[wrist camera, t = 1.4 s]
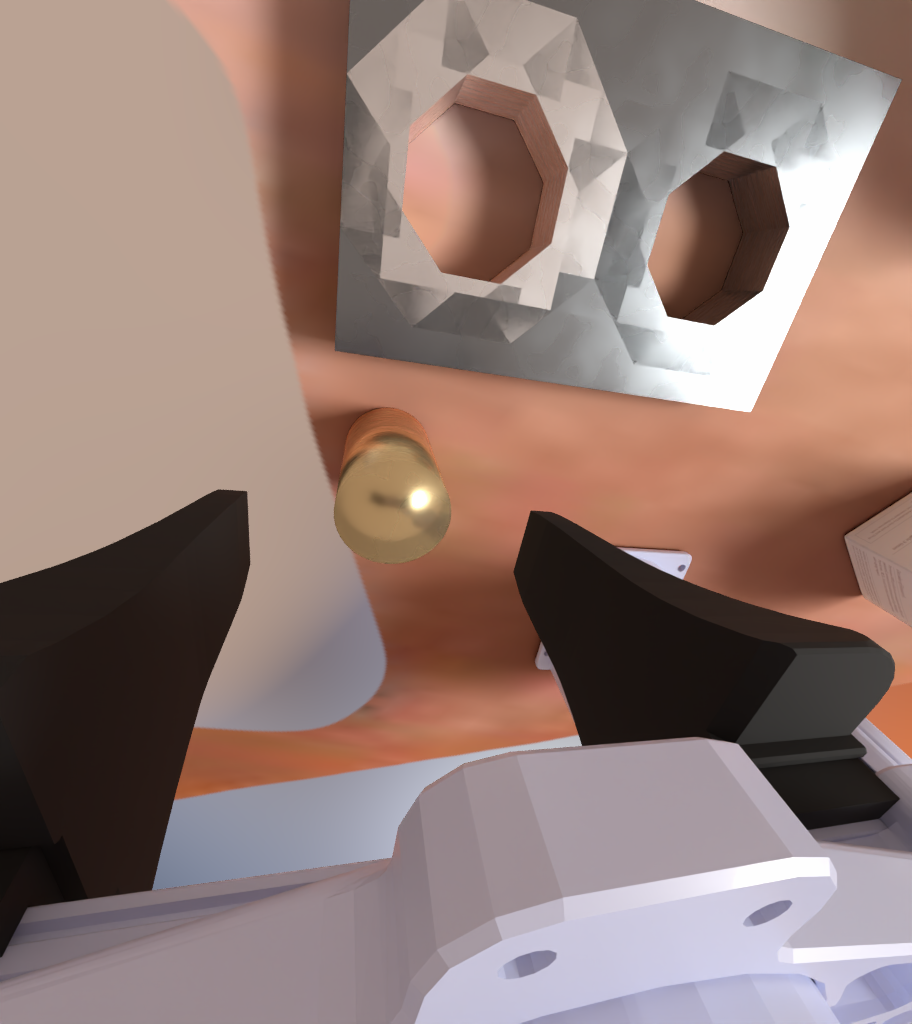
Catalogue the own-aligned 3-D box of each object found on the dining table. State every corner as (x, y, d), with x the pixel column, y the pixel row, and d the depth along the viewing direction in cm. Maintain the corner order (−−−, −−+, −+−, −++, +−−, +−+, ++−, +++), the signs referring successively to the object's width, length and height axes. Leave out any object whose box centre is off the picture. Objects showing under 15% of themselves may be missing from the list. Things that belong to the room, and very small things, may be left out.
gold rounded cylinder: (423, 489, 23) (442, 566, 17) (343, 483, 22) (331, 561, 16) (434, 413, 21) (459, 466, 15) (348, 402, 20) (336, 454, 14)
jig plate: (714, 400, 23) (750, 412, 21) (339, 343, 19) (334, 350, 17) (837, 104, 18) (901, 79, 16) (358, -64, 14) (355, -130, 12)
